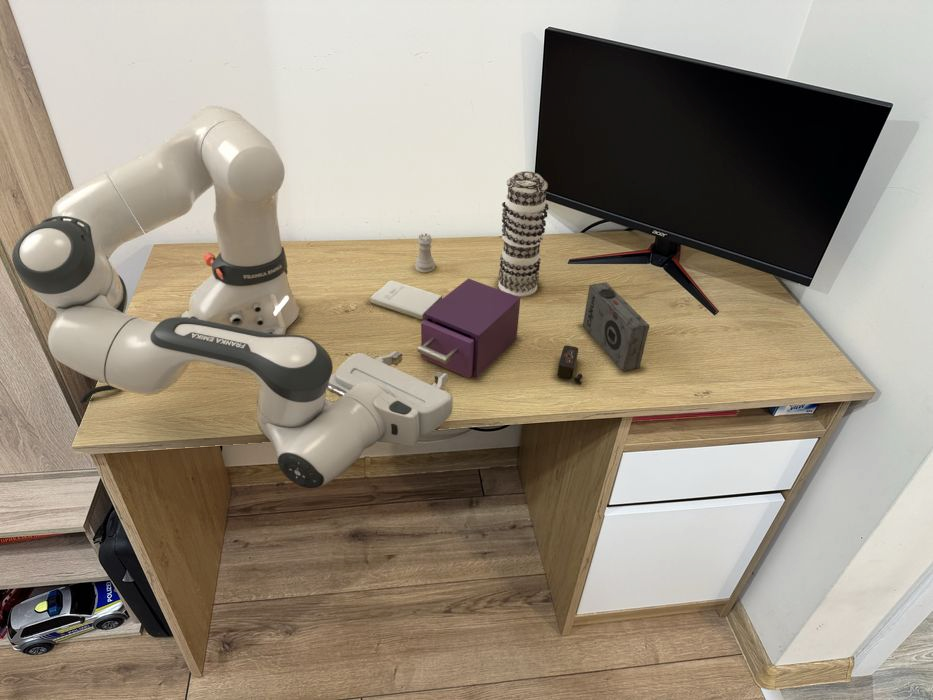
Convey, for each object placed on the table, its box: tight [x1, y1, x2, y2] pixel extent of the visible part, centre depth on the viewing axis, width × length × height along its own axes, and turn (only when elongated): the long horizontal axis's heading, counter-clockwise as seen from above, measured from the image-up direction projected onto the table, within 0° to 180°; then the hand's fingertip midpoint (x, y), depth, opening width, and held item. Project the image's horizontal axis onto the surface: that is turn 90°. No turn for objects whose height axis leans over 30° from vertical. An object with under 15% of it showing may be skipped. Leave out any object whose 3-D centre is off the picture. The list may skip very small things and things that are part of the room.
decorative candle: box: [498, 171, 549, 298], centre depth 143 cm, size 9×9×25 cm
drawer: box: [416, 319, 475, 379], centre depth 127 cm, size 18×10×8 cm, turn 147°
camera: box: [582, 281, 650, 372], centre depth 132 cm, size 16×4×10 cm, turn 21°
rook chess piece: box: [414, 233, 436, 274], centre depth 153 cm, size 4×4×8 cm
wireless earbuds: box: [556, 344, 584, 386], centre depth 127 cm, size 5×7×3 cm, turn 164°
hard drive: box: [369, 279, 443, 321], centre depth 144 cm, size 2×8×12 cm
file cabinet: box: [423, 277, 521, 379], centre depth 130 cm, size 15×12×10 cm
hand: (421, 365), depth 118 cm, fingers open, 8 cm apart
